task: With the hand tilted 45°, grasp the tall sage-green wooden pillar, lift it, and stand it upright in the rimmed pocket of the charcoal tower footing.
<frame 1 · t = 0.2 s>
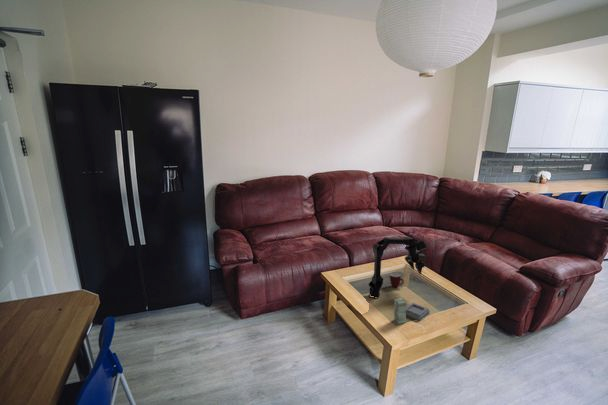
hand: (416, 271, 219), 15 cm above the table, tool pointing down, fingers open, 9 cm apart
mug: (396, 287, 229), on the table
footing: (416, 313, 191), on the table
pillar: (399, 321, 183), on the table
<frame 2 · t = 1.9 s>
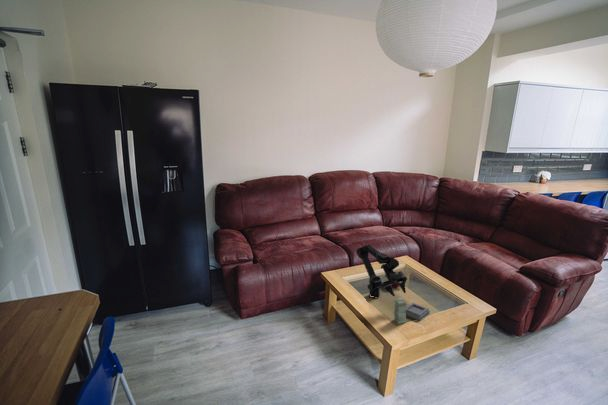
hand: (399, 294, 190), 13 cm above the table, tool tilted 40°, fingers open, 9 cm apart
nothing on the table moved.
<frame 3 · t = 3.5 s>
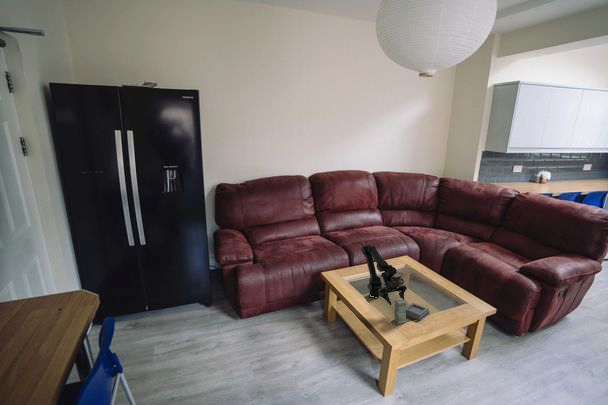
hand: (397, 303, 184), 10 cm above the table, tool tilted 45°, fingers open, 9 cm apart
nothing on the table moved.
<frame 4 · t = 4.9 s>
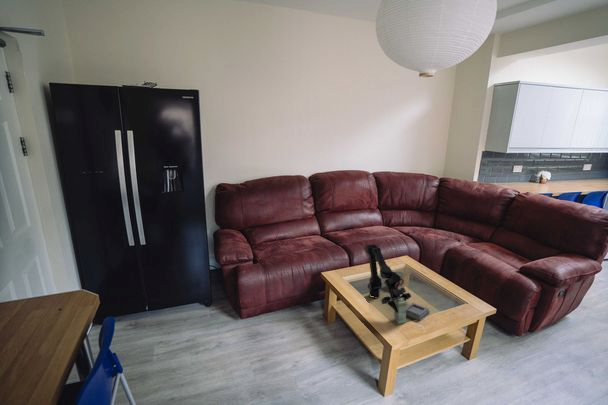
hand: (401, 311, 181), 7 cm above the table, tool tilted 45°, fingers closed on pillar, 5 cm apart
pillar: (399, 321, 183), on the table, touching gripper
everything else where it was.
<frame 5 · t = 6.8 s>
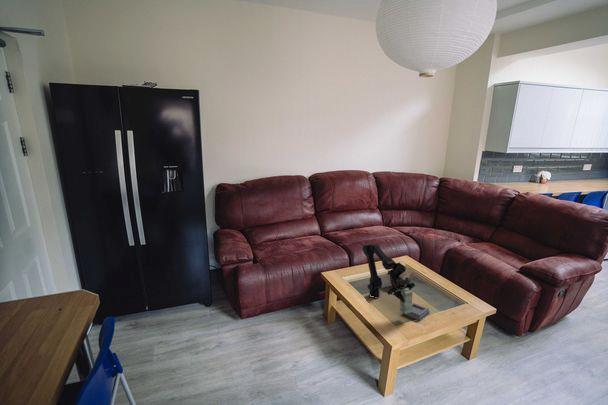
hand: (407, 301, 181), 13 cm above the table, tool tilted 45°, fingers closed on pillar, 5 cm apart
pillar: (405, 310, 184), point 6 cm above the table, touching gripper
everything else where it was.
when the fingers open (11 cm above the table, at t = 8.4 s): pillar drops 1 cm, resting on footing.
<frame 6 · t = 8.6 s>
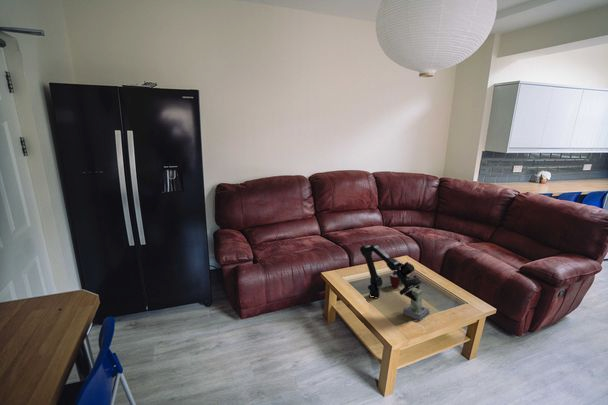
hand: (418, 298, 188), 11 cm above the table, tool tilted 45°, fingers open, 7 cm apart
pillar: (416, 310, 190), point 3 cm above the table, touching footing
everything else where it was.
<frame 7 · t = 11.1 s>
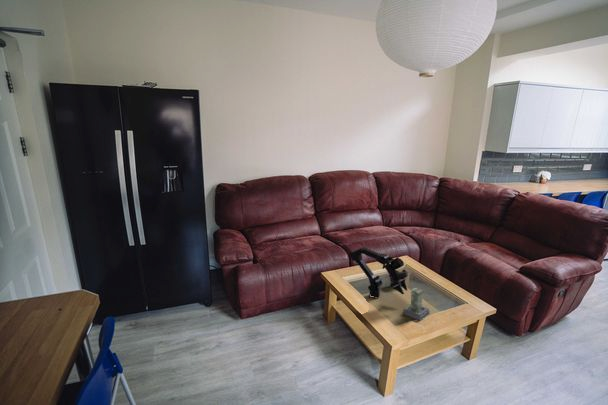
hand: (405, 292, 197), 11 cm above the table, tool tilted 40°, fingers open, 9 cm apart
nothing on the table moved.
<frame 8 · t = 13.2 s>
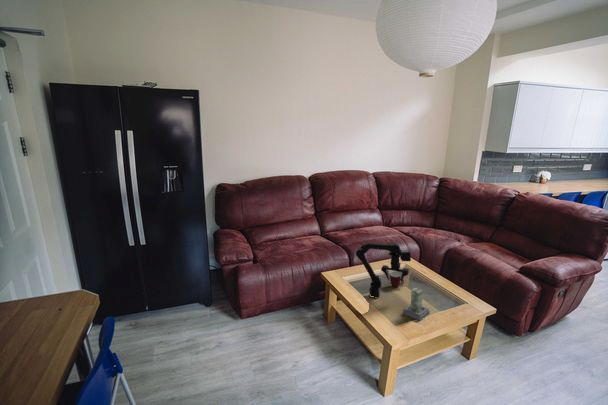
hand: (394, 281, 210), 13 cm above the table, tool pointing down, fingers open, 9 cm apart
nothing on the table moved.
at the end: pillar 0.2 cm off-centre on the footing, point 2.5 cm above the footing's base; pillar tilted 0°; the gripper is holding nothing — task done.
